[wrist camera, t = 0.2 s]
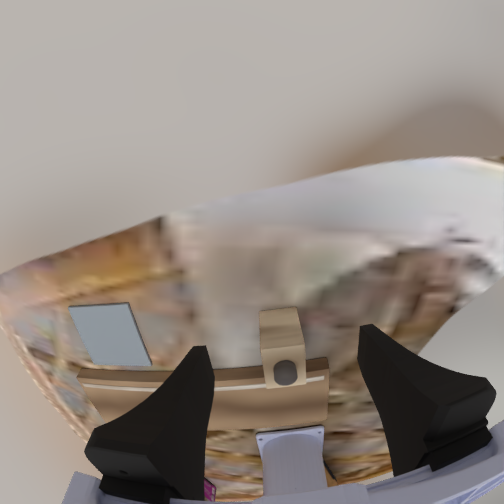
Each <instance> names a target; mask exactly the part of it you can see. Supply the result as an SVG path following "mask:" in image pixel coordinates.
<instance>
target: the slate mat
mask: <svg viewBox="0 0 504 504" xmlns="http://www.w3.org/2000/svg"><path fill="white" fill-rule="evenodd" d="M68 309H69V312H70V314H71V316H72V319H73V321H74V323H75V326H76V328H77V330H78V332H79V334H80V337H81V339H82V341H83V343H84V345H85V347H86V349H87V351H88V353H89V355H90V357H91V359H92V361H93V363H94V364H97V365H121V366H152V362H151V359H150V357H149V355H148V352H147V350H146V347H145V345H144V342H143V340H142V337H141V335H140V332H139V330H138V327H137V324H136V322H135V319H134V316H133V313H132V311H131V308H130V305H129V303H115V304H100V305H84V306H69V307H68Z"/></svg>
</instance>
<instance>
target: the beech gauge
mask: <svg viewBox="0 0 504 504" xmlns="http://www.w3.org/2000/svg"><path fill="white" fill-rule="evenodd" d="M259 321H260V351H261V357H262V364H263V370H264V376H265V382H266V388H267V389H271V388H280V387H289V386H296V385H304V384H306V360H305V343H304V339H303V334H302V330H301V326H300V322H299V317H298V313H297V309H296V307H290V308H283V309H275V310H266V311H259Z"/></svg>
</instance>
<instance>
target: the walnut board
mask: <svg viewBox="0 0 504 504" xmlns="http://www.w3.org/2000/svg"><path fill="white" fill-rule="evenodd" d="M329 371H330V368H329V365H328V362H327V358H326V357H325V358H319V359H312V360H306V384H304V385H296V386H289V387H280V388H271V389H267V388H266V382H265V376H264V370H263V366H256V367H245V368H233V369H218V370H213V372H214V375H215V387H214V398H213V403H212V408H211V413H210V419H209V424H208V429H207V430H238V429H255V428H267V427H277V426H287V425H295V424H302V423H309V422H316V421H322V420H327V411H328V394H329ZM172 373H173V371H117V370H98V369H84V368H82V369H81V371H80V372H79V374H78V375H77V377H76V378H77V379H78V381H79V383H80V384H81V386H82V388H83V389H84V391H85V392H86V394H87V396H88V397H89V399H90V400H91V402H92V403H93V405H94V406H95V408H96V409H97V411H98V412H99V414H100V415H101V416H102V418H103V419H104V421H105V422H106V423H108V422H110V421H112V420H114V419H116V418H118V417H120V416H122V415H123V414H125V413H127V412H128V411H130V410H131V409H133V408H134V407H136V406H137V405H138V404H140V403H141V402H143V401H144V400H145V399H146V398H148V397H149V396H150V395H151V394H152V393H153V392H155V391H156V390H157V389H158V388H159V387H160V386H161V385H162V384H163V383H164V381H165V380H166V379H167V378H168V377H169V376H170V375H171V374H172Z"/></svg>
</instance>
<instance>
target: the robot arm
mask: <svg viewBox="0 0 504 504" xmlns="http://www.w3.org/2000/svg"><path fill="white" fill-rule="evenodd" d="M357 359H358V363H359V366H360V370H361V373H362V376H363V378H364V381H365V383H366V385H367V387H368V390H369V392H370V394H371V396H372V398H373V401H374V403H375V405H376V407H377V410H378V412H379V415H380V418H381V421H382V424H383V428H384V432H385V435H386V439H387V443H388V448H389V452H390V457H391V462H392V468H393V475H394V477H393V478H390V479H386V480H383V481H380V482H376V483H372V484H369V485H363V484H358V483H351V484H343V485H338V486H333V487H328V486H327V480H326V475H325V469H324V463H323V457H322V450H323V438H324V427H323V426H315V427H308V428H301V429H294V430H286V431H276V432H266V433H258V434H256V440H257V443H258V447H259V451H260V455H261V459H262V463H263V494H264V496H262V497H260V498H257V499H255V500H253V501H252V502H213V501H205V494H204V467H205V445H206V435H207V429H208V424H209V419H210V413H211V408H212V403H213V398H214V387H215V375H214V372H213V368H212V365H211V362H210V358H209V355H208V351H207V348H206V346H193V347H192V349H191V350H190V351H189V352H188V354H187V355H186V356H185V358H184V359H183V360H182V361H181V363H180V364H179V365H178V366H177V368H176V369H175V370H174V371H173V373H172V374H171V375H170V376H169V377H168V378H167V379H166V380H165V381H164V383H163V384H162V385H161V386H160V387H159V388H158V389H157V390H156V391H155V392H153V393H152V394H151V395H150V396H149V397H148V398H146V399H145V400H144V401H143V402H141V403H140V404H138V405H137V406H136V407H134V408H133V409H131V410H130V411H128V412H127V413H125V414H123V415H122V416H120V417H118V418H116V419H114V420H112V421H110V422H108V423H106V424H104V425H101V426H99V427H97V428H94V430H93V432H92V434H91V437H90V439H89V441H88V443H87V445H86V448H85V451H84V452H85V455H86V457H87V458H88V460H89V461H90V462H91V463H92V464H93V465H94V466H95V467H96V468H97V469H98V470H99V471H100V472H101V473H102V474H103V477H102V480H100V479H98V478H96V477H93V476H90V475H86V474H83V473H80V472H74V474H73V477H72V479H71V482H70V484H69V487H68V489H67V492H66V494H65V497H64V499H63V502H62V504H470V503H471V502H473V501H475V500H476V499H477V498H479V497H481V496H483V495H484V494H486V493H487V492H489V491H491V490H492V489H494V488H495V487H497V486H498V485H500V484H501V483H502V482H504V420H503V421H501V422H499V423H498V424H496V425H495V426H493V427H492V428H491V429H490V430H488V428H487V427H486V425H487V424H488V420H487V419H486V415H487V413H488V412H489V410H490V408H491V406H492V405H493V403H494V400H495V398H496V390H495V389H494V388H493V386H492V385H491V384H490V382H489V381H488V380H487V379H486V378H485V377H478V376H472V375H467V374H462V373H459V372H455V371H452V370H449V369H446V368H443V367H441V366H438V365H436V364H433V363H431V362H429V361H427V360H425V359H423V358H421V357H419V356H418V355H416V354H414V353H413V352H411V351H409V350H408V349H406V348H405V347H403V346H402V345H400V344H399V343H397V342H396V341H394V340H393V339H392V338H390V337H389V336H388V335H386V334H385V333H384V332H382V331H381V330H380V329H378V328H377V327H376V326H374V325H373V324H368V325H363V326H360V333H359V346H358V357H357Z"/></svg>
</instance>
